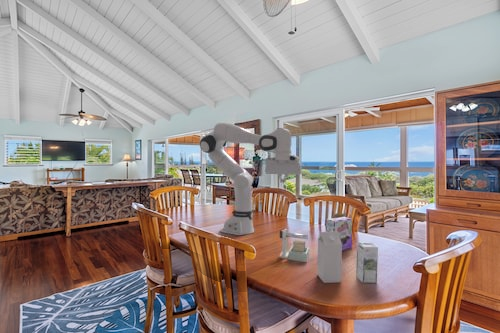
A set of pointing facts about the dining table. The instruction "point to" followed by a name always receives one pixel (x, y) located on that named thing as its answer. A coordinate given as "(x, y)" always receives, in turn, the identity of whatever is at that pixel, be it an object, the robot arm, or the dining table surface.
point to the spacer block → (299, 245)
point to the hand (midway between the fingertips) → (283, 182)
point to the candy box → (341, 230)
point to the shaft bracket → (292, 254)
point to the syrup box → (367, 262)
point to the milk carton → (329, 257)
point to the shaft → (294, 235)
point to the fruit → (338, 215)
